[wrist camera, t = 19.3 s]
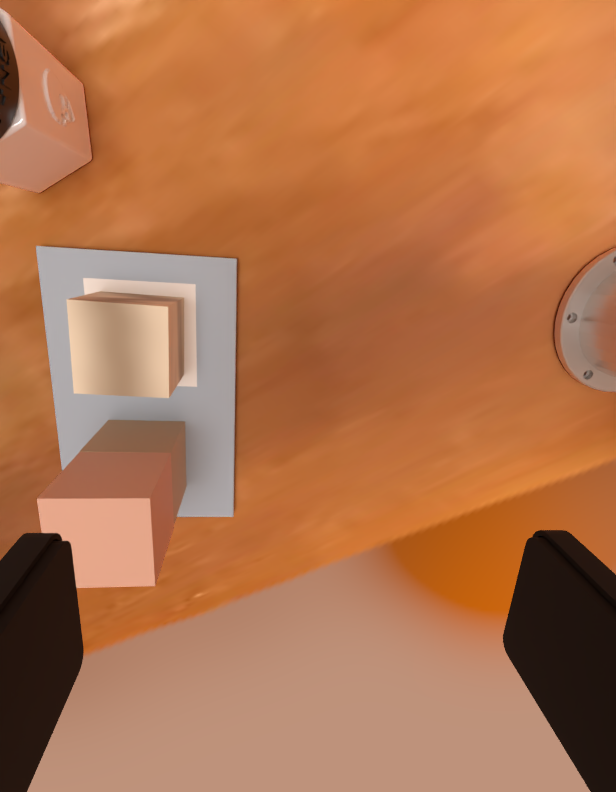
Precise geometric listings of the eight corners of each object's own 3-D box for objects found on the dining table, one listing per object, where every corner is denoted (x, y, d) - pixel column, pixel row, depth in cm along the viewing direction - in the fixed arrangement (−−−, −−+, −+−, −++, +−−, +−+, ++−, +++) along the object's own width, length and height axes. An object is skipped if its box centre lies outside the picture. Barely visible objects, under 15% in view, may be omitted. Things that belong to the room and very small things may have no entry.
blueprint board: (237, 258, 34) (231, 260, 27) (233, 510, 40) (228, 561, 34) (42, 246, 32) (-15, 244, 26) (72, 510, 39) (33, 563, 32)
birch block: (184, 297, 33) (168, 306, 28) (184, 374, 35) (169, 398, 29) (100, 291, 33) (66, 299, 27) (104, 370, 34) (73, 393, 29)
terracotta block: (170, 452, 31) (150, 498, 25) (174, 527, 32) (155, 585, 27) (79, 452, 30) (36, 498, 24) (88, 528, 32) (50, 588, 26)
